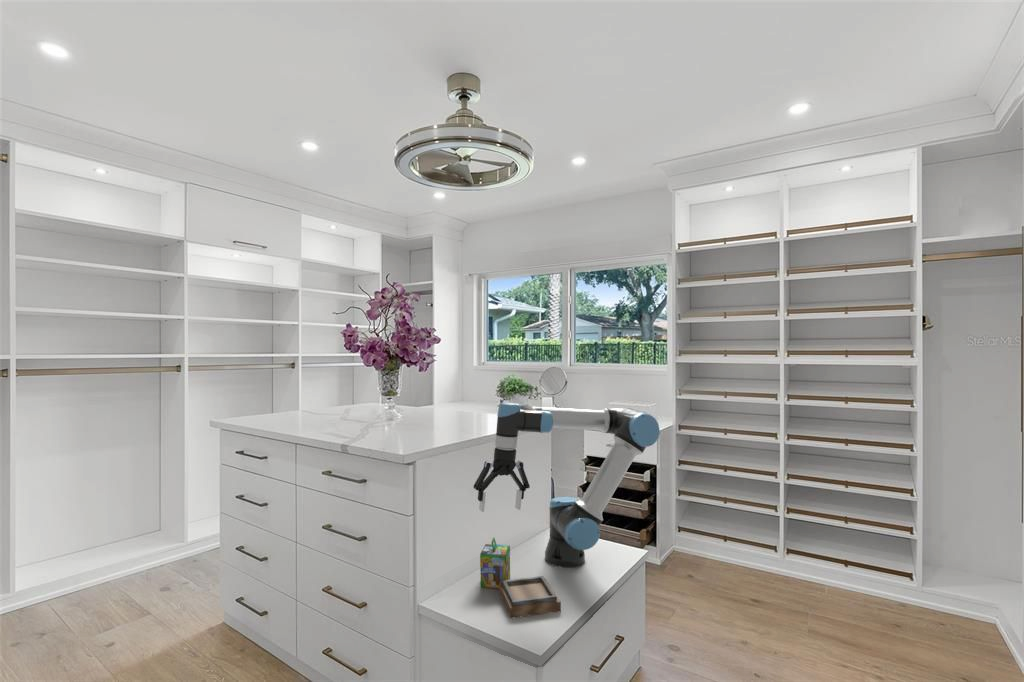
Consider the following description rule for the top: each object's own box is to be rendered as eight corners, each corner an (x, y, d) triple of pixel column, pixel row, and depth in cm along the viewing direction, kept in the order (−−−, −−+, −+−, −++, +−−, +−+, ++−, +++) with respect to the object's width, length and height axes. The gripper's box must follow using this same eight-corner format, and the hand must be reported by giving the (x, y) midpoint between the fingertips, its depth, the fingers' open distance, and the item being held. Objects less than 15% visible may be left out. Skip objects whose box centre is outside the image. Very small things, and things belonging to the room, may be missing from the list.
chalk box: (506, 590, 167) (506, 545, 167) (479, 587, 169) (479, 543, 169) (511, 577, 177) (511, 535, 177) (485, 575, 178) (485, 533, 178)
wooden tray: (544, 586, 170) (545, 574, 170) (560, 611, 154) (560, 597, 154) (498, 592, 166) (498, 579, 166) (510, 618, 150) (510, 604, 150)
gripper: (532, 445, 181) (527, 504, 181) (467, 445, 171) (462, 507, 170) (542, 450, 174) (537, 511, 174) (475, 450, 164) (469, 515, 163)
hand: (499, 509), depth 172 cm, fingers open, 13 cm apart
